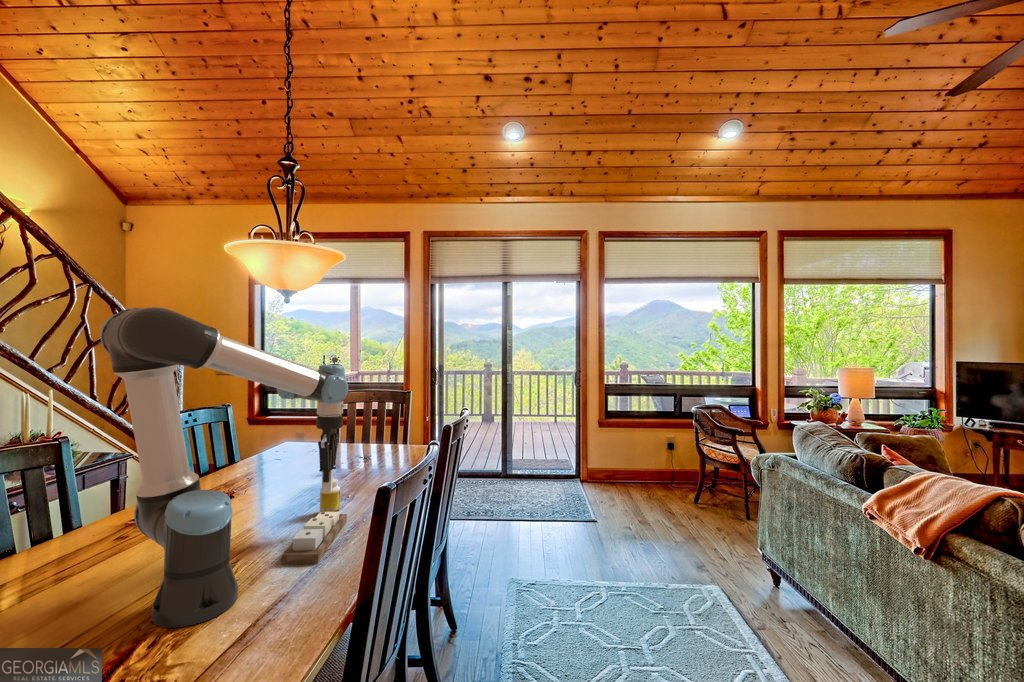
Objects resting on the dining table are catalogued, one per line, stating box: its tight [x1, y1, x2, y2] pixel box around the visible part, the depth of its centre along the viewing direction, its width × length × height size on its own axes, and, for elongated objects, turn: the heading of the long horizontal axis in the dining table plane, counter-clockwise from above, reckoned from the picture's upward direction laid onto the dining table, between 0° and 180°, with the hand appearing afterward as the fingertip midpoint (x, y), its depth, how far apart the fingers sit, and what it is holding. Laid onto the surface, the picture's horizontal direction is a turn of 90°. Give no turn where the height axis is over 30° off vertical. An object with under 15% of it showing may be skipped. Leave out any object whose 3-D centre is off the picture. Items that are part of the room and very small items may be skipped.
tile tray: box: [281, 513, 348, 565], centre depth 127 cm, size 27×9×2 cm, turn 6°
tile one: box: [292, 528, 323, 551], centre depth 119 cm, size 6×6×3 cm
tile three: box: [314, 511, 340, 525], centre depth 135 cm, size 6×6×3 cm
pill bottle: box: [319, 477, 341, 513], centre depth 148 cm, size 6×6×11 cm
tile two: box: [303, 517, 332, 537], centre depth 127 cm, size 6×6×3 cm
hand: (326, 491), depth 135 cm, fingers closed
